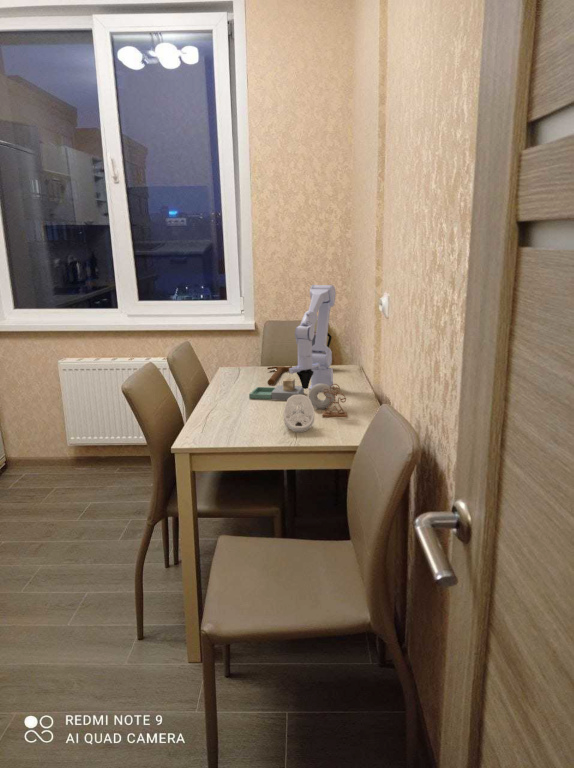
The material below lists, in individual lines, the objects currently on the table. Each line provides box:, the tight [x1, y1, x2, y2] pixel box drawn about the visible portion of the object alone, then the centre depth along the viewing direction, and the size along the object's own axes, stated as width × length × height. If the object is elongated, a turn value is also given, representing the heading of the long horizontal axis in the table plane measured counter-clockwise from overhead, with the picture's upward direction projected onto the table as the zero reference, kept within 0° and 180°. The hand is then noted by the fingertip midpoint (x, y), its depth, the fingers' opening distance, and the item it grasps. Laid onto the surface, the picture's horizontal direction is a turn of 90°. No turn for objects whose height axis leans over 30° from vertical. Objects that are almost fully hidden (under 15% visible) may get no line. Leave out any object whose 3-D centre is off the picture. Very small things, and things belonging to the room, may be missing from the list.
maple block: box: [282, 378, 296, 391], centre depth 229 cm, size 4×4×4 cm
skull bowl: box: [282, 394, 316, 433], centre depth 190 cm, size 10×14×12 cm
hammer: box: [267, 365, 293, 386], centre depth 264 cm, size 12×3×30 cm
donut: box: [308, 383, 334, 410], centre depth 211 cm, size 10×4×10 cm, turn 78°
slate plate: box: [271, 384, 305, 401], centre depth 230 cm, size 11×12×3 cm
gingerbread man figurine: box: [321, 383, 348, 418], centre depth 202 cm, size 9×4×12 cm, turn 84°
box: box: [248, 386, 277, 401], centre depth 233 cm, size 9×12×2 cm
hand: (305, 388), depth 228 cm, fingers closed
